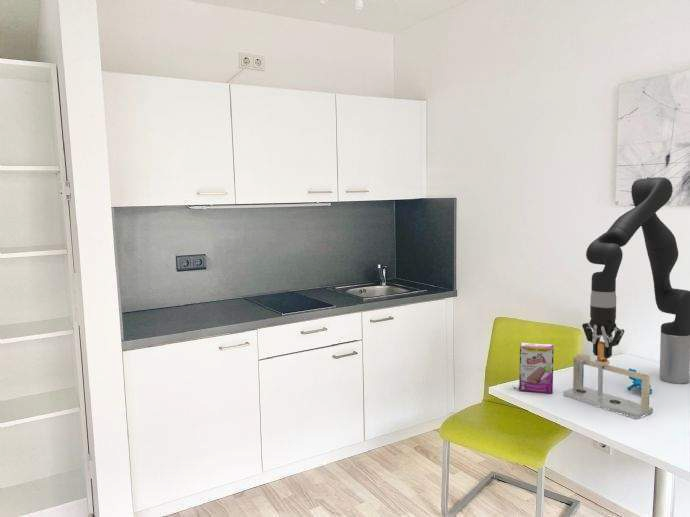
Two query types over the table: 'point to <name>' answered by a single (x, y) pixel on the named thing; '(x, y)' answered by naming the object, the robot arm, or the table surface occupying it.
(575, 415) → the table surface
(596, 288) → the robot arm
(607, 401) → the divider frame
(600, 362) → the cylinder
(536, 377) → the candy bar box
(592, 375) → the table surface
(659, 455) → the table surface
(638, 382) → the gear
